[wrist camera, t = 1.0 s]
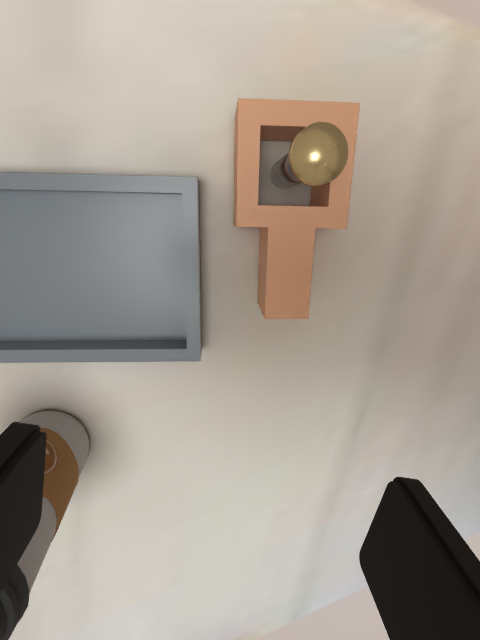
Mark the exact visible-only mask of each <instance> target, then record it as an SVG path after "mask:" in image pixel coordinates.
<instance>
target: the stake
mask: <svg viewBox="0 0 480 640" xmlns="http://www.w3.org/2000/svg"><path fill="white" fill-rule="evenodd" d="M347 159H348V144H347V140H346V138H345V136H344V134H343V133H342V131H341V130H340V129H339V128H338V127H336V126H335V125H333V124H331V123H327V122H316V123H313V124H311V125H309V126H307V127H306V128H304V129H303V130H302V131H301V132H300V133H299V134H298V135H297V136H296V137H295V139H294V140H293V142H292V144H291V146H290V150H289V153H288V154H287V155H286V156H284V157H283V158H282V159H281V160H279V161H278V162H277V163H276V164H275V165H274V166H273V167H272V169H271V172H270V178H271V181H272V183H273V184H274V185H275V186H277V187H279V188H285V187H288V186H291V185H294V184H297V183H300V182H302V183H304V184H306V185H311V186H317V185H322V184H326V183H329V182H331V181H333V180H334V179H335V178H337V177H338V176H339V175H340V174H341V172H342V171H343V169H344V167H345V165H346V163H347Z"/></svg>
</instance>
